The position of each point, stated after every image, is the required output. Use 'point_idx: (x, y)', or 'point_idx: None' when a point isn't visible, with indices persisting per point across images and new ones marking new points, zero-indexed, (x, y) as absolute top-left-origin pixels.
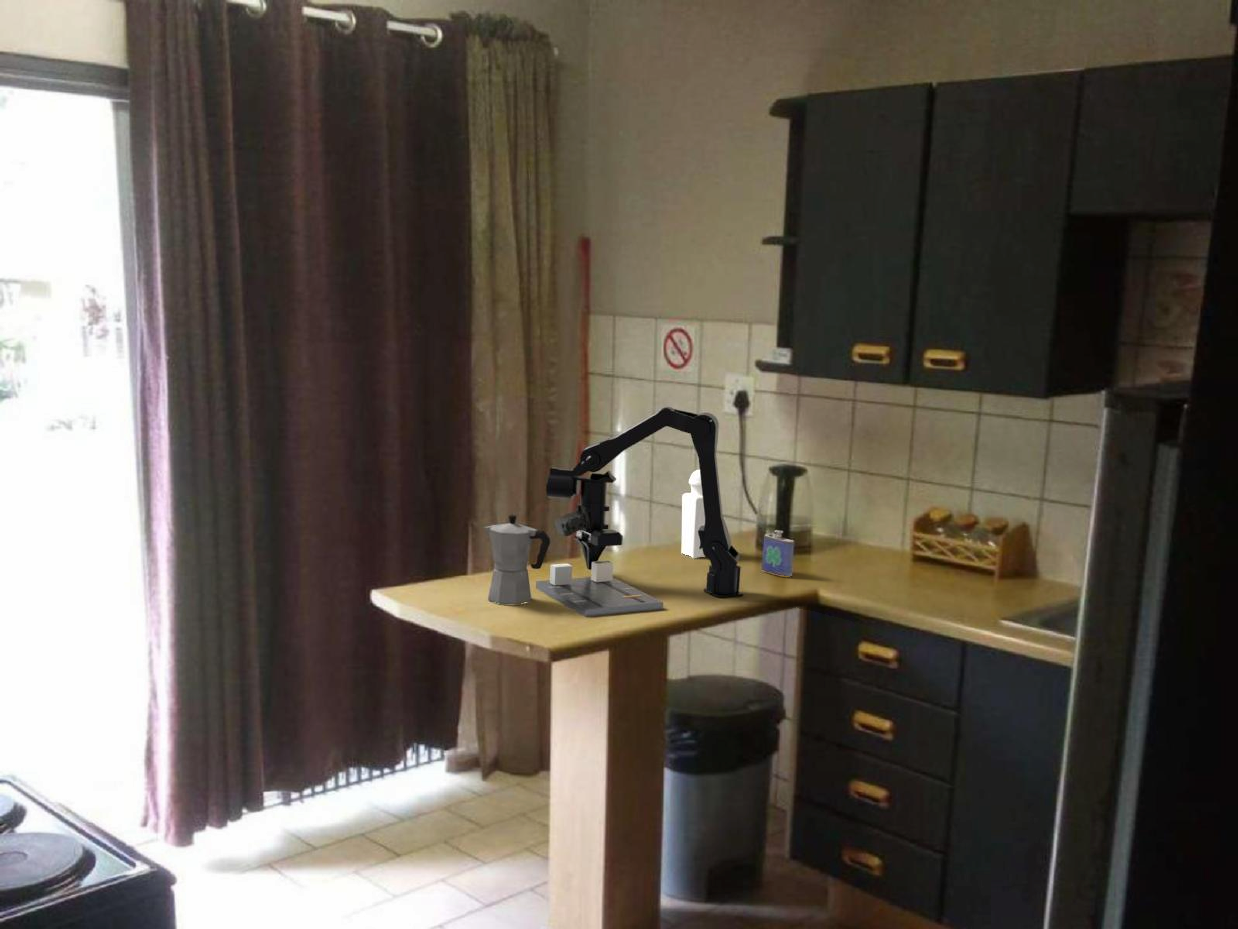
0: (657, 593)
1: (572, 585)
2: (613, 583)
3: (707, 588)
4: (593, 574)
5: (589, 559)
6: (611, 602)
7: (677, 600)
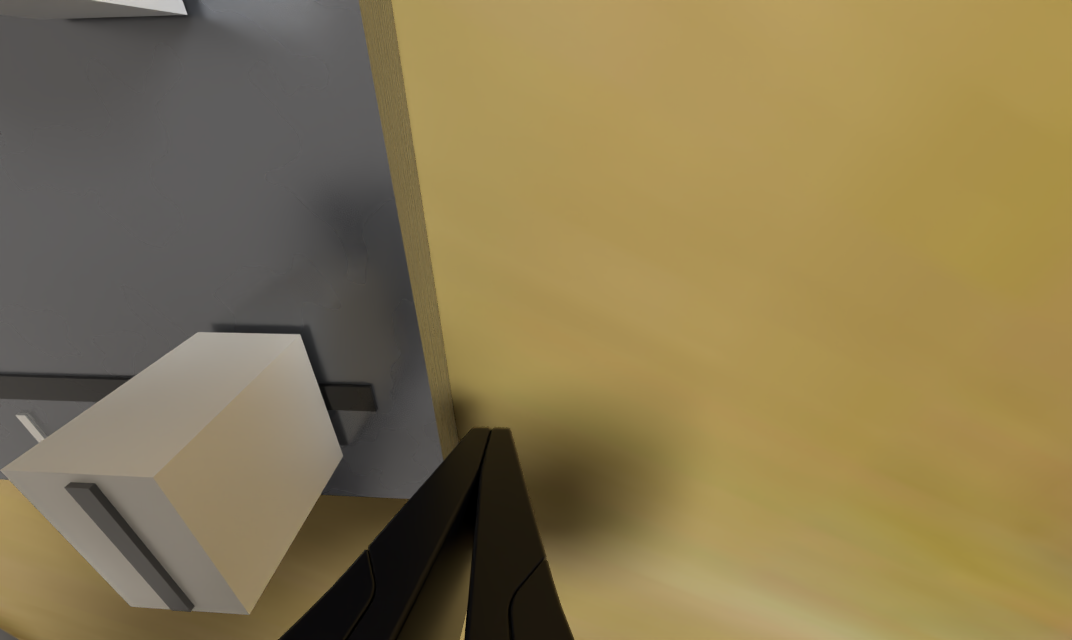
0: None
1: (34, 25)
2: None
3: None
4: (212, 368)
5: (395, 517)
6: None
7: (64, 549)
